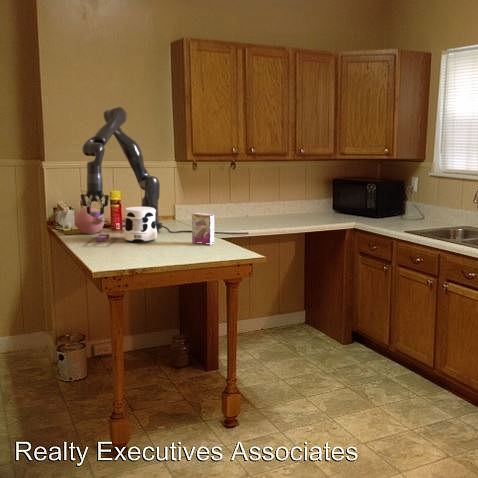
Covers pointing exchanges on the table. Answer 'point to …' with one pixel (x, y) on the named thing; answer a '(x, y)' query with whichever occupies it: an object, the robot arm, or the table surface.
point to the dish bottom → (100, 238)
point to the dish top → (105, 235)
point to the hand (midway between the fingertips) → (95, 214)
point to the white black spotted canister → (140, 224)
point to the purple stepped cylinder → (95, 213)
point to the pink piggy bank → (89, 222)
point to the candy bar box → (202, 228)
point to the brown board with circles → (99, 242)
